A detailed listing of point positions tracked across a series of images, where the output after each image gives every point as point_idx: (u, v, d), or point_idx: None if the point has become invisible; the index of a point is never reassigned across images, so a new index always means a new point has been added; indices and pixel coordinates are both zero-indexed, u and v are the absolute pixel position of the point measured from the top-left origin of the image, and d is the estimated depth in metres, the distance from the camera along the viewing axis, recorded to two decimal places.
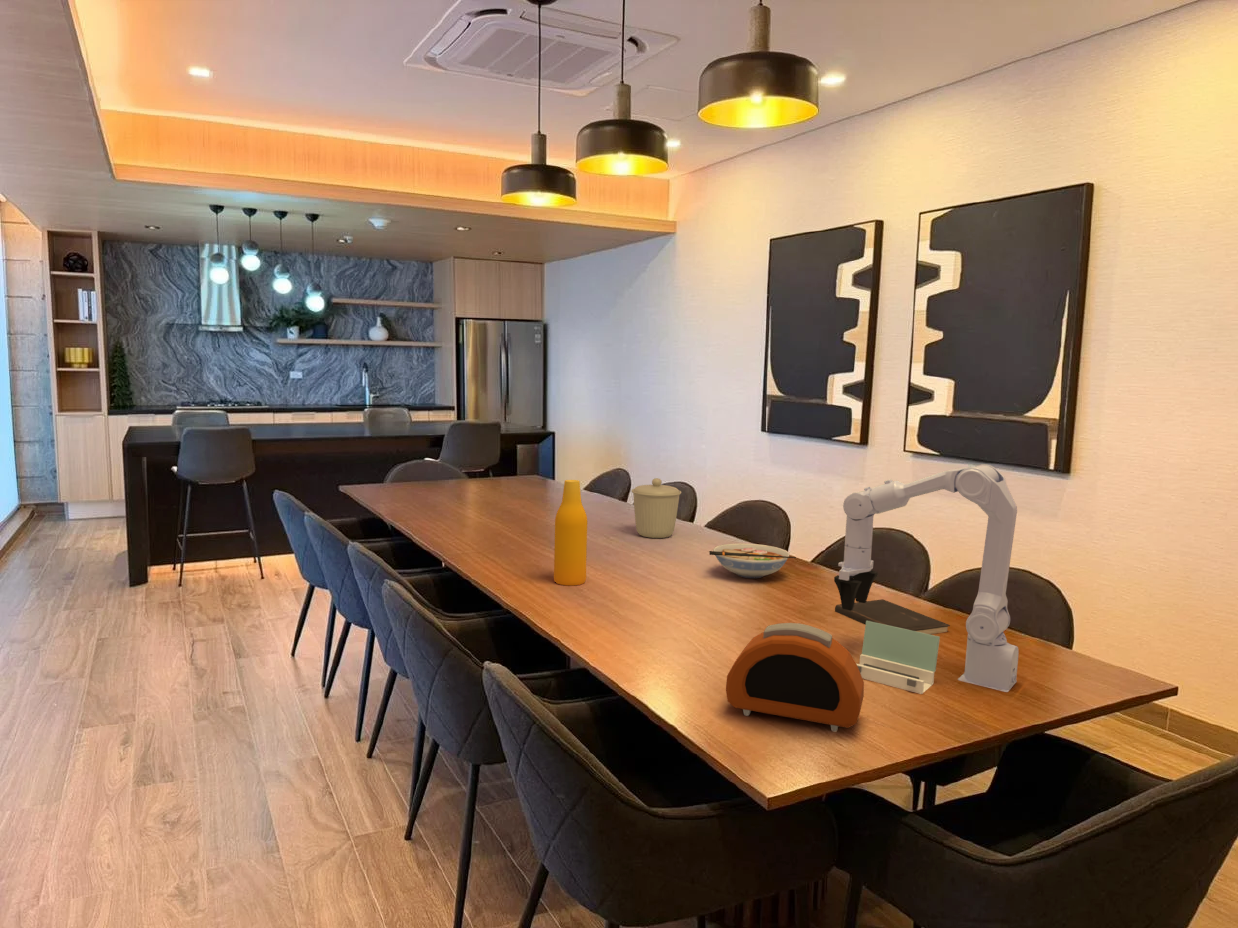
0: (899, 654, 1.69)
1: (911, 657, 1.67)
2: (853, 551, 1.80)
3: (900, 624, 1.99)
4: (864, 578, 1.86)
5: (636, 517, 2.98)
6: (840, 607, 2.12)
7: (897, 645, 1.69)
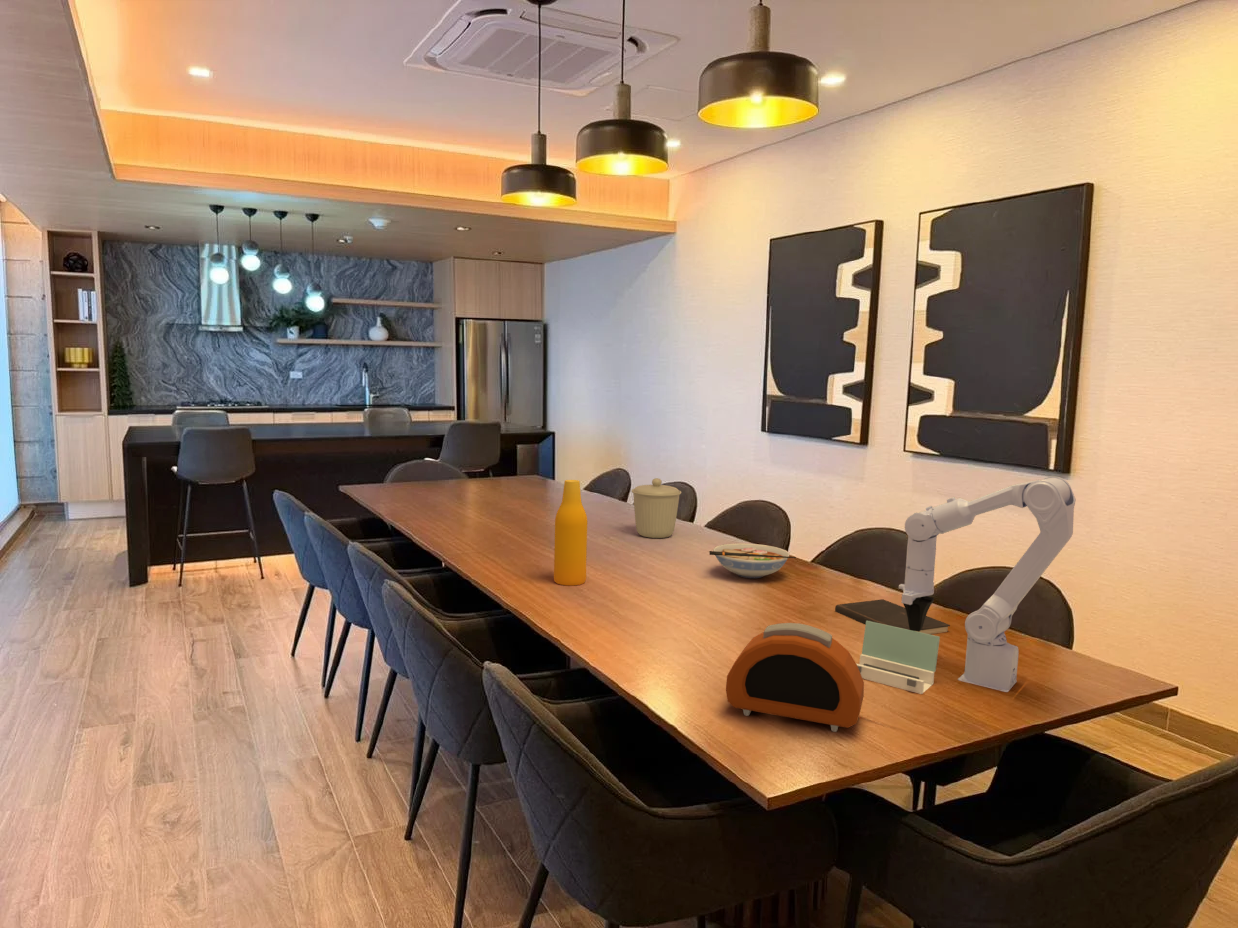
0: (899, 654, 1.69)
1: (911, 657, 1.67)
2: (916, 574, 1.73)
3: (901, 624, 1.99)
4: None
5: (636, 517, 2.98)
6: (840, 607, 2.12)
7: (897, 645, 1.69)
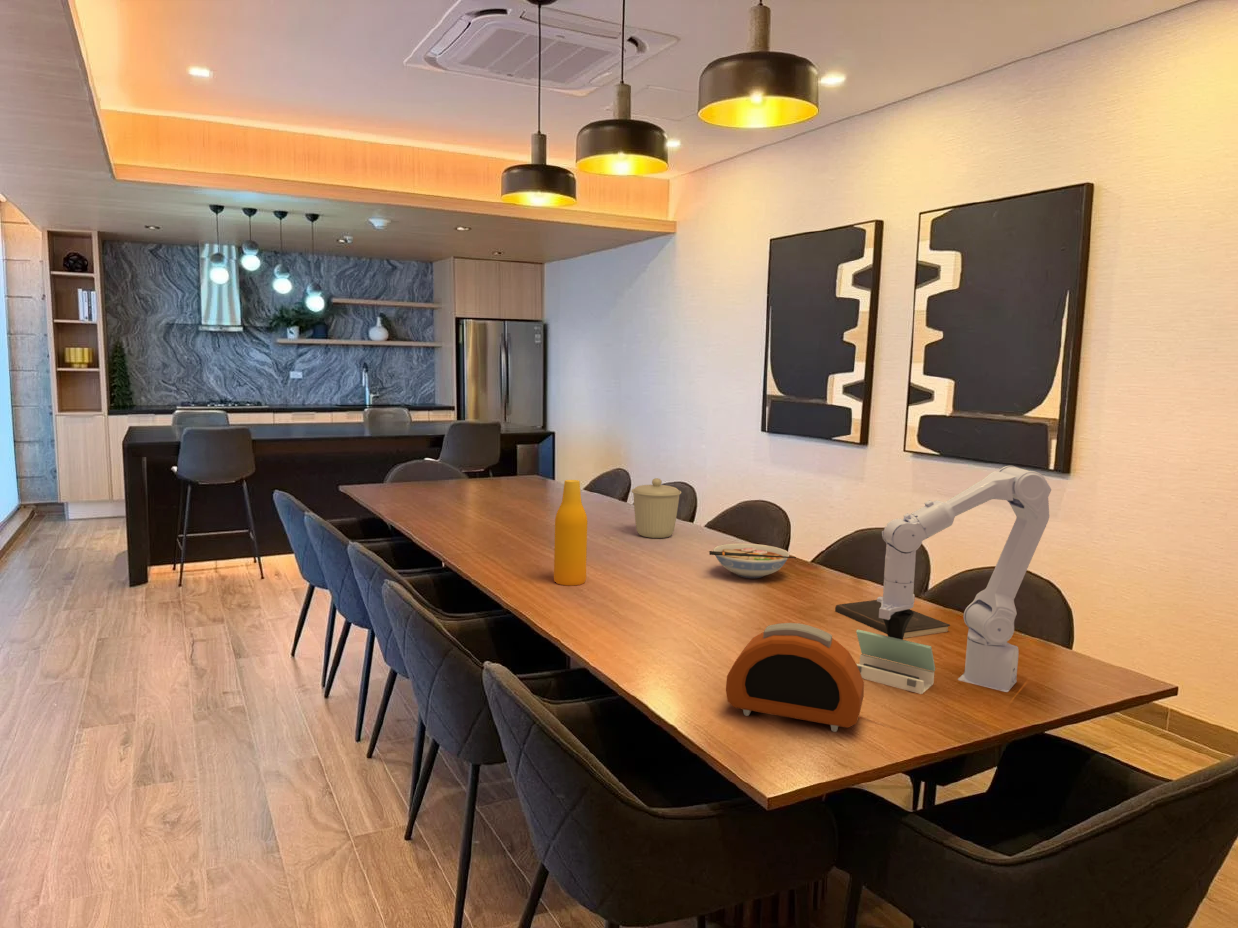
0: (897, 657, 1.68)
1: (909, 660, 1.67)
2: (894, 586, 1.63)
3: None
4: (898, 618, 1.66)
5: (636, 517, 2.98)
6: (840, 607, 2.12)
7: (892, 650, 1.67)
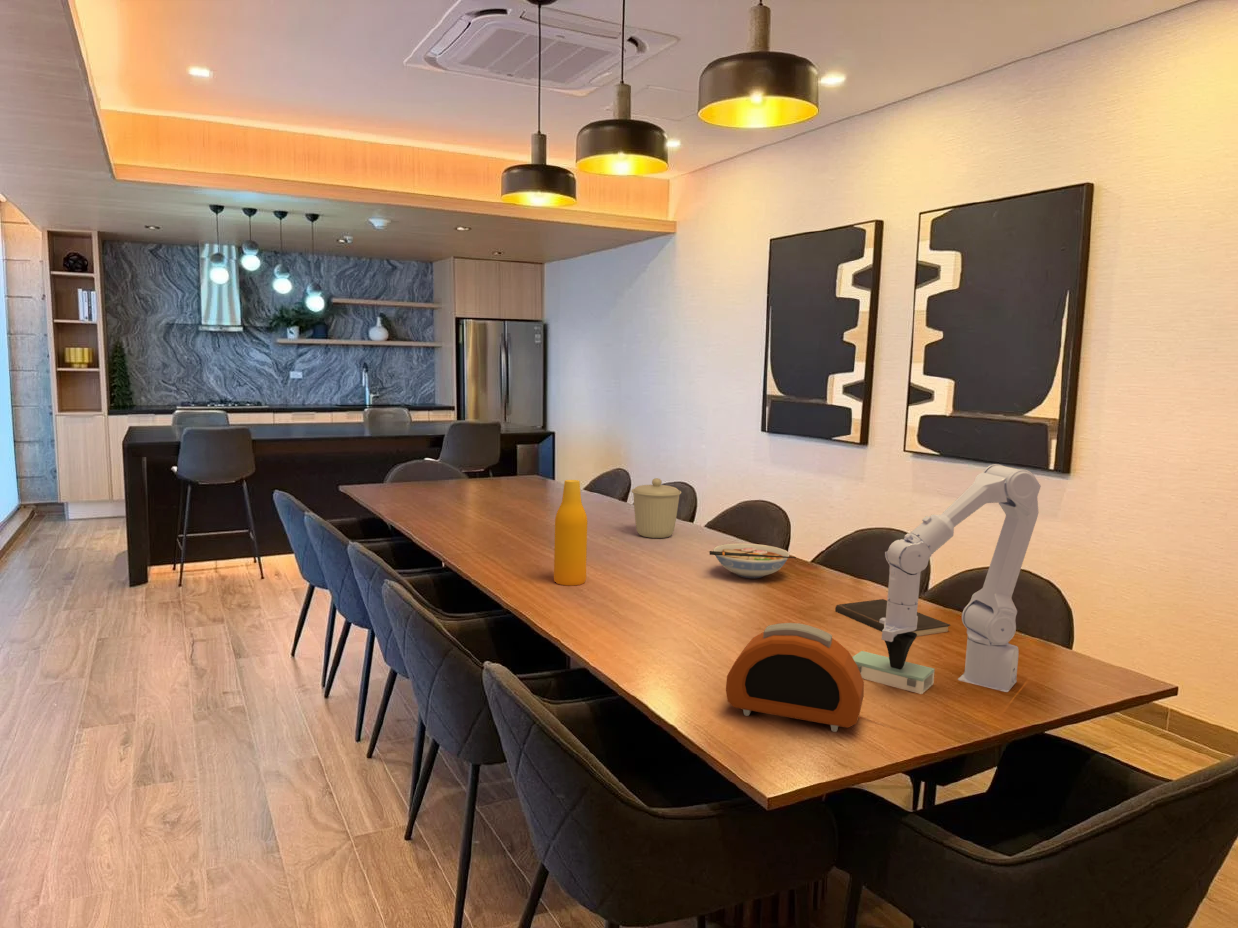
0: None
1: None
2: (897, 608, 1.61)
3: None
4: None
5: (636, 517, 2.98)
6: (840, 607, 2.12)
7: None
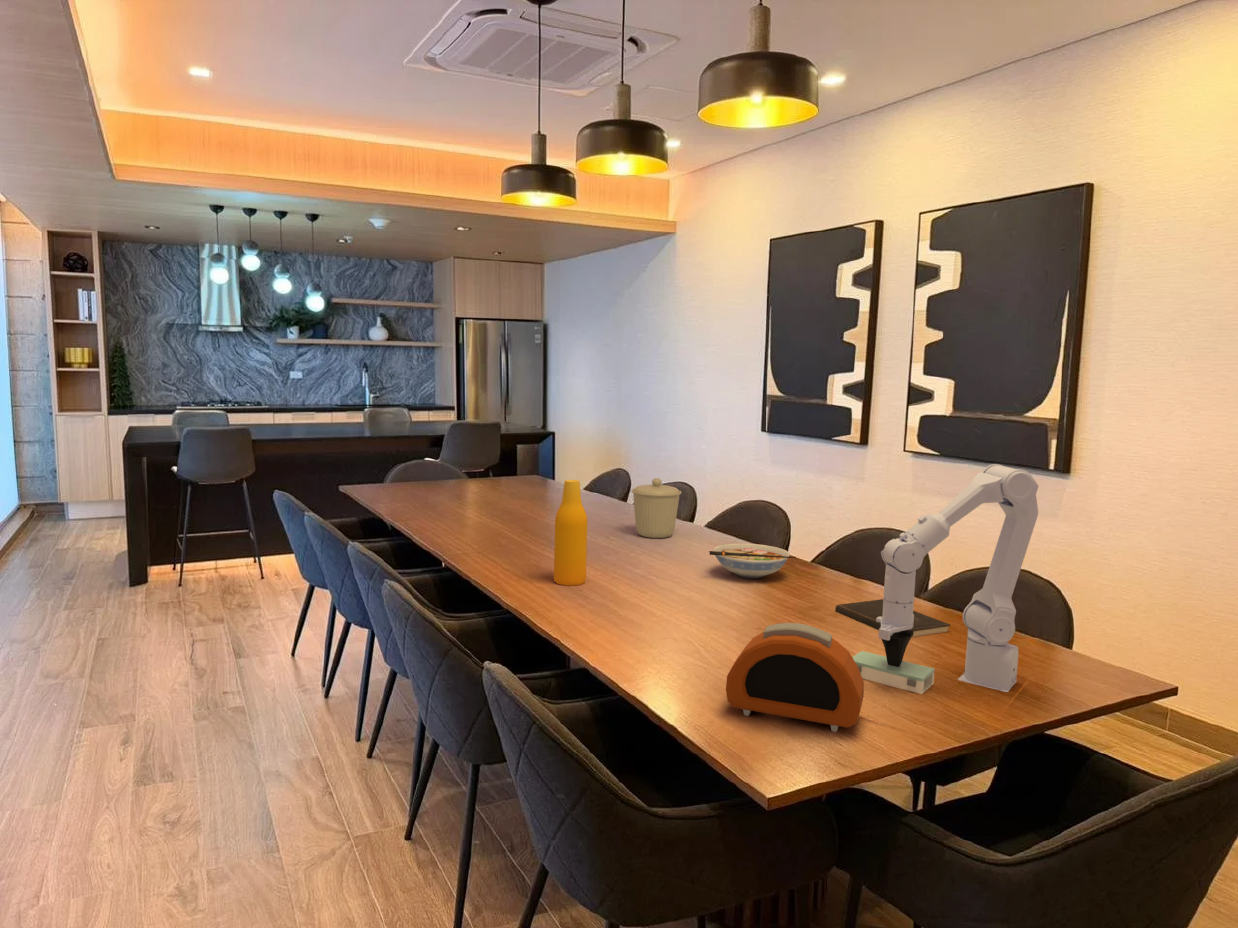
0: None
1: None
2: (894, 606, 1.62)
3: None
4: None
5: (636, 517, 2.98)
6: (840, 607, 2.12)
7: None
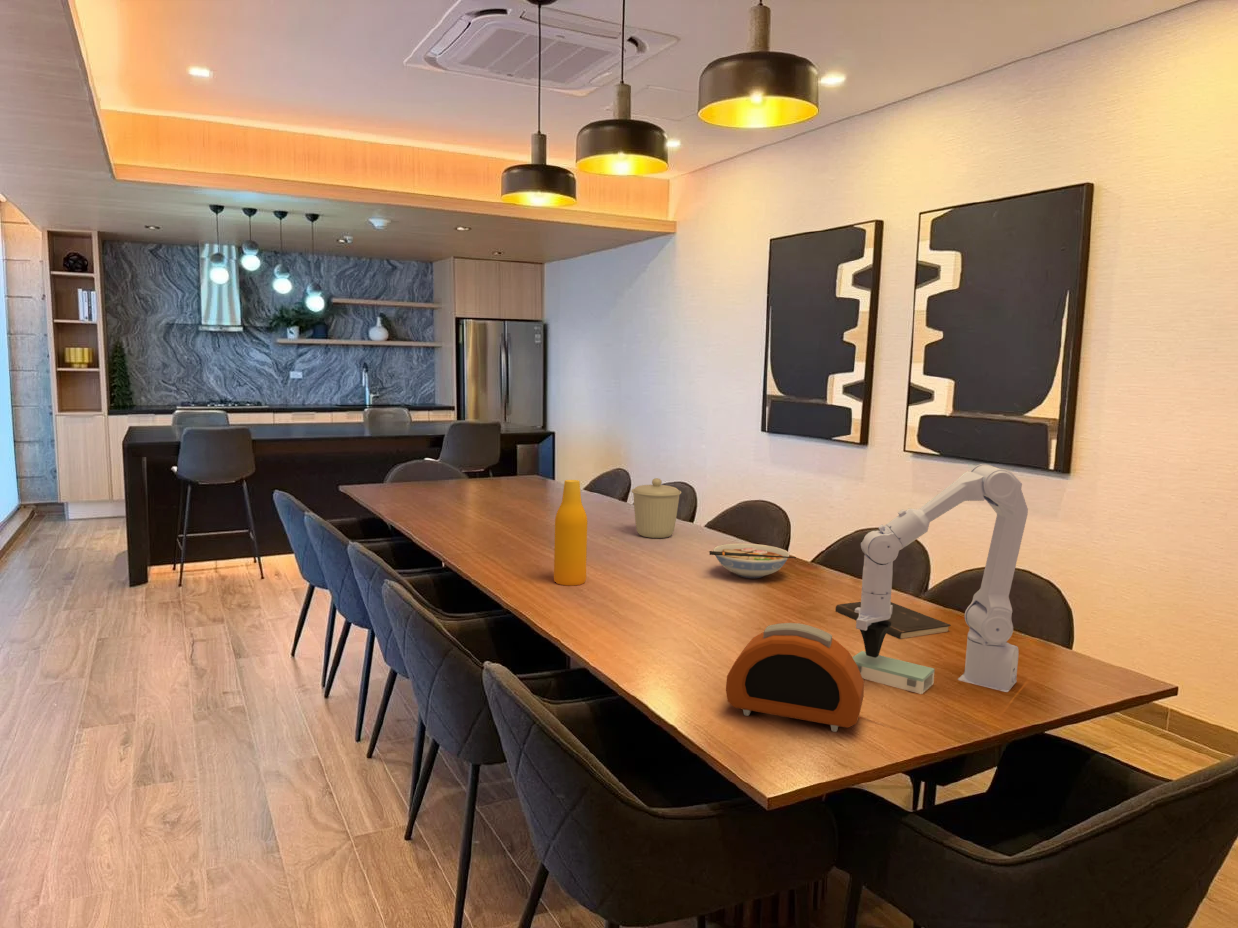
0: None
1: None
2: (871, 597, 1.65)
3: (901, 624, 1.99)
4: None
5: (636, 517, 2.98)
6: (841, 607, 2.12)
7: None
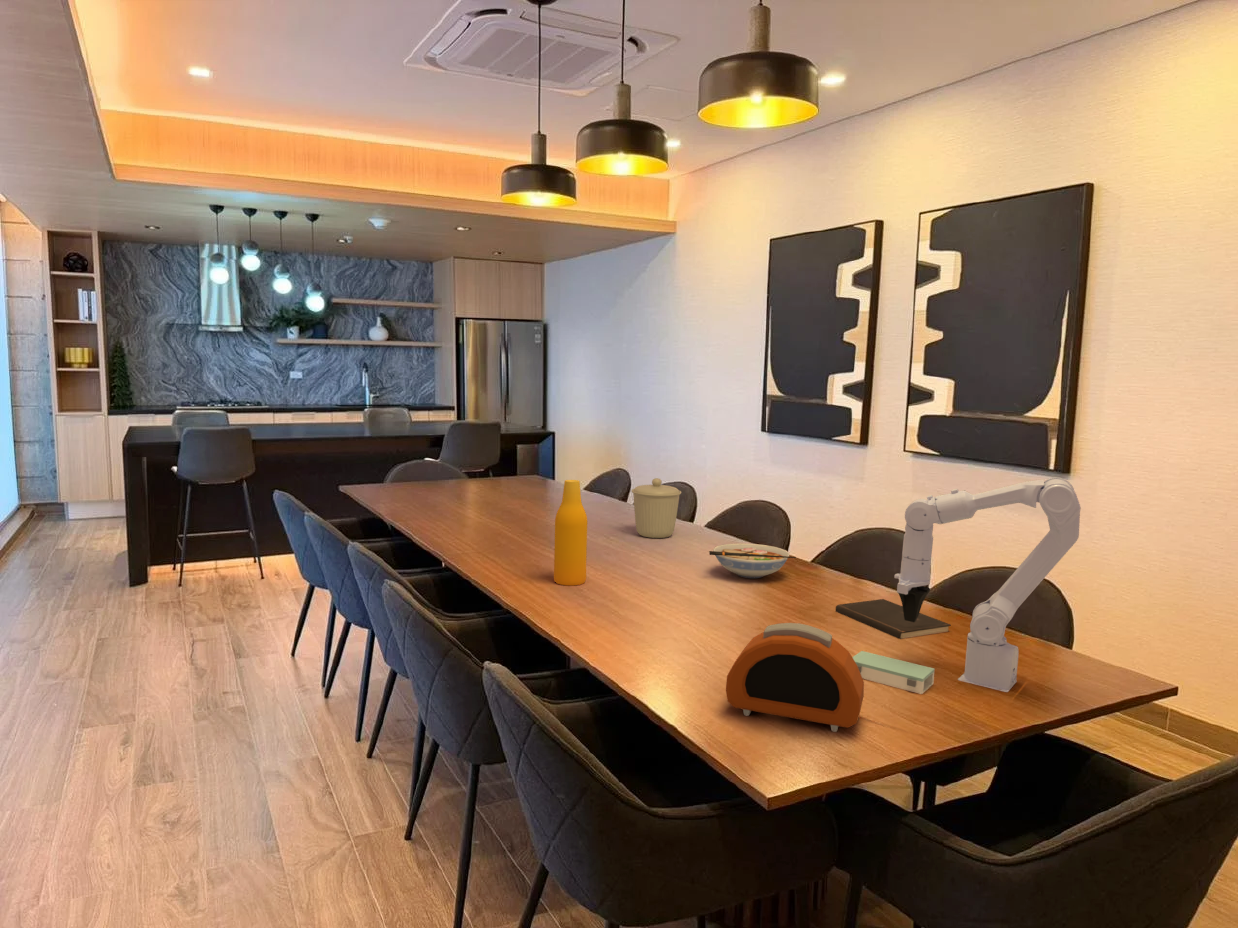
0: None
1: None
2: (912, 563, 1.69)
3: (901, 624, 1.99)
4: None
5: (636, 517, 2.98)
6: (841, 607, 2.12)
7: None
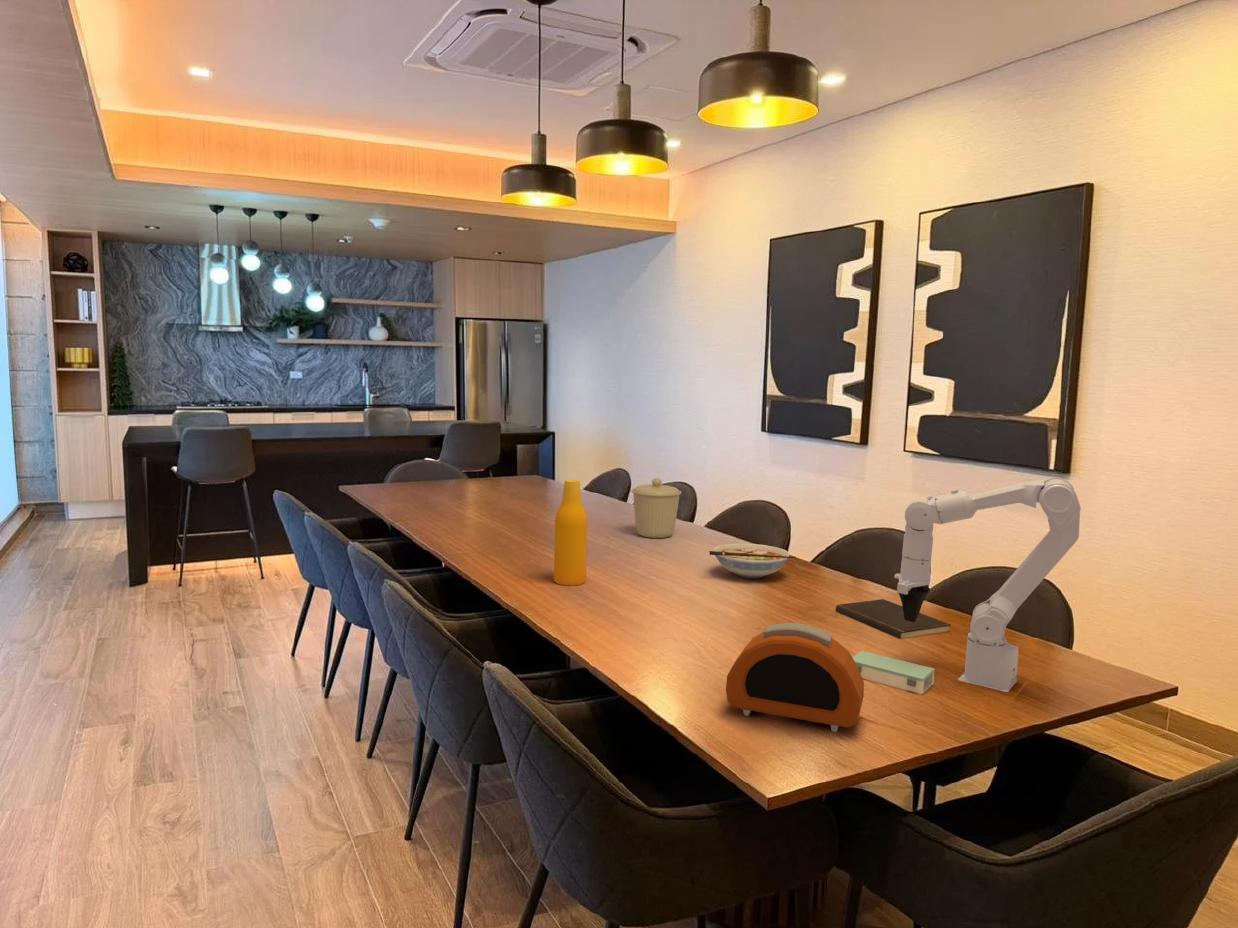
0: None
1: None
2: (912, 563, 1.69)
3: (902, 624, 1.99)
4: None
5: (636, 517, 2.98)
6: (841, 607, 2.12)
7: None
